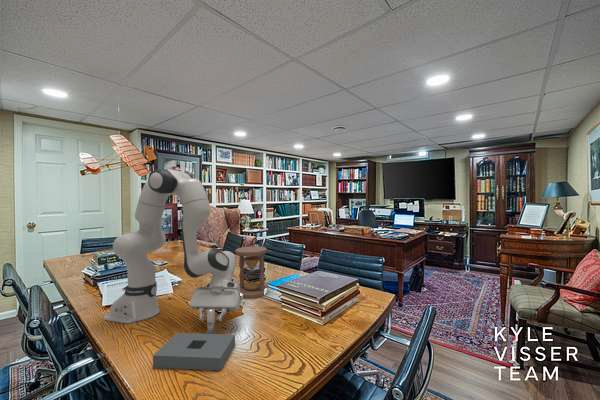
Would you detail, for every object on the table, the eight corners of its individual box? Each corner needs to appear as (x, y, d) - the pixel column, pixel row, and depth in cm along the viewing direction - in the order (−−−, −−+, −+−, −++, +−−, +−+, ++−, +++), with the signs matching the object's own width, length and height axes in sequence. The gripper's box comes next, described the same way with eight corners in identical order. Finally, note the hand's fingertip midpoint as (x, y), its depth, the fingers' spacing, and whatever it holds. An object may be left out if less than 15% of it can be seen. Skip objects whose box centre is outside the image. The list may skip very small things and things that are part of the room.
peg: (205, 336, 102) (205, 310, 102) (209, 332, 105) (208, 307, 105) (213, 336, 102) (213, 311, 102) (216, 332, 105) (216, 307, 105)
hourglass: (273, 291, 152) (273, 247, 152) (252, 301, 137) (252, 253, 137) (251, 285, 161) (250, 245, 161) (229, 294, 146) (228, 250, 146)
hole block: (153, 368, 83) (152, 355, 83) (177, 343, 97) (177, 332, 97) (220, 370, 82) (220, 358, 82) (235, 345, 96) (235, 334, 96)
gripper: (193, 283, 111) (181, 316, 101) (240, 284, 109) (233, 318, 100) (198, 290, 116) (187, 322, 106) (244, 291, 114) (237, 324, 104)
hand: (210, 320), depth 103 cm, fingers open, 5 cm apart
